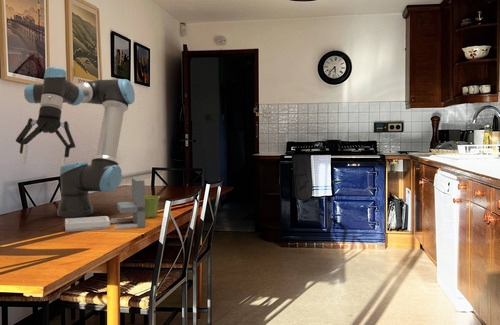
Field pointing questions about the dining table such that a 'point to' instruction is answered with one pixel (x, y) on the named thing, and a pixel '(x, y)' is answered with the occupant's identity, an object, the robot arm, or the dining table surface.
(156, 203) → the plant pot
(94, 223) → the white rectangular slab
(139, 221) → the stand
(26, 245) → the dining table surface
